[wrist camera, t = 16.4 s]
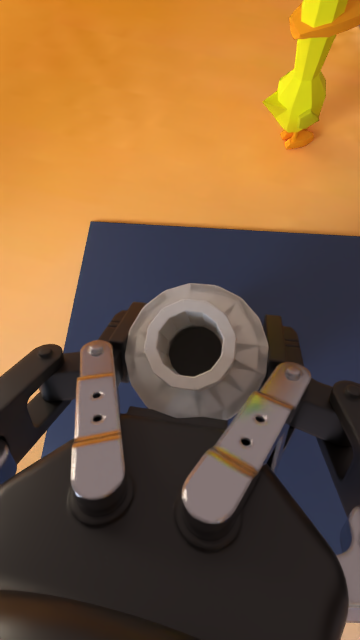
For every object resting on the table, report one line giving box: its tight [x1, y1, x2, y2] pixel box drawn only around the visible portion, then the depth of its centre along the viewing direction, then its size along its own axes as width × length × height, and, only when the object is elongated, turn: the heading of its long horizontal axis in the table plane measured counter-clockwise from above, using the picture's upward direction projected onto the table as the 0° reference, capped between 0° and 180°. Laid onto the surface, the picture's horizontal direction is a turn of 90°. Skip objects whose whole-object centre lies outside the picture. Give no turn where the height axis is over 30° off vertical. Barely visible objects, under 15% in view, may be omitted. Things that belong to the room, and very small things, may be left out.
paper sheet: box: [41, 222, 360, 555], centre depth 21 cm, size 20×20×1 cm
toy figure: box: [263, 0, 360, 149], centre depth 18 cm, size 7×4×12 cm, turn 107°
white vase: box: [125, 283, 269, 420], centre depth 15 cm, size 6×6×10 cm
